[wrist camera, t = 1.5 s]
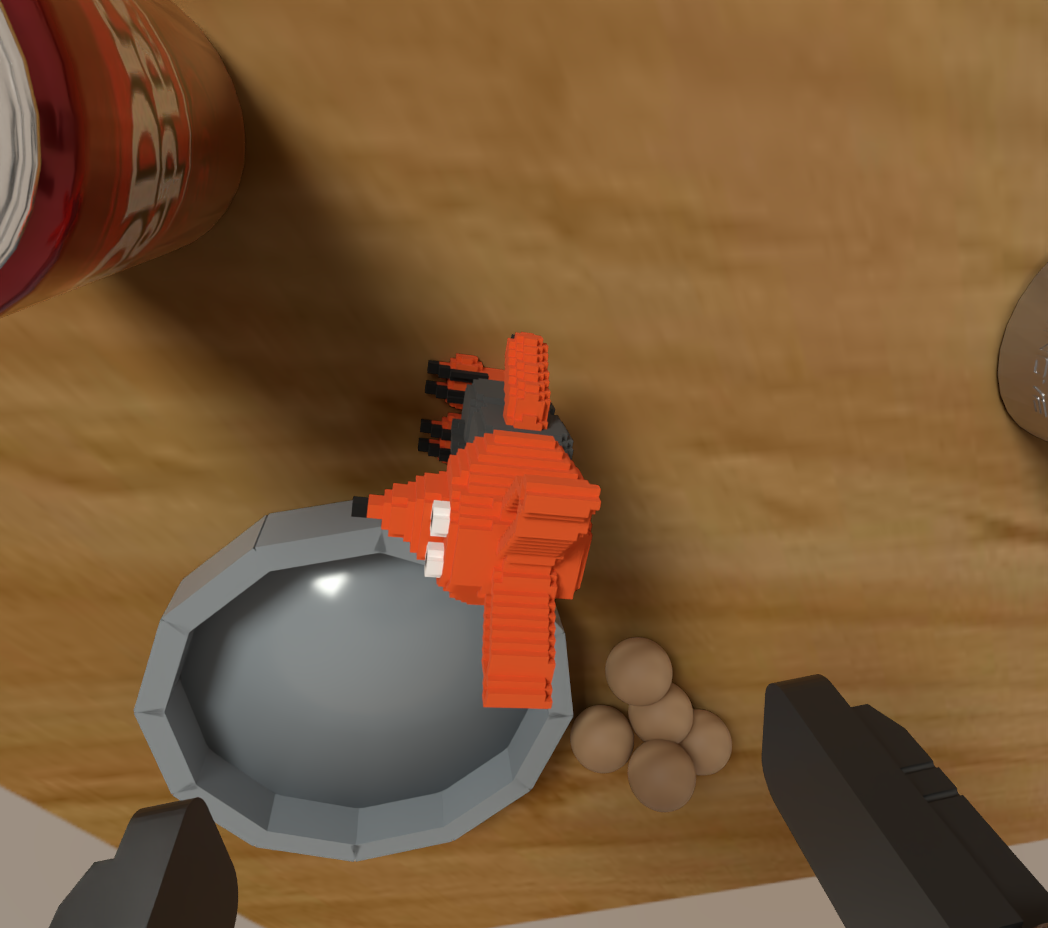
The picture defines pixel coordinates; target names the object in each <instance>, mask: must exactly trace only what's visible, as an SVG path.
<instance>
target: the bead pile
mask: <svg viewBox="0 0 1048 928" xmlns="http://www.w3.org/2000/svg"><path fill="white" fill-rule="evenodd" d="M605 673H606V679H607V682H608V685H609V687H610V689H611V690H612V692H613V693H614V694H615V695H616V696H617V697H618V698H619V699H620V700H622V701H623V702H625V703H627V704H629V720H630V723H631V725H630V723H629V721H628V719H627V718H626V717H625V716H624V715H623V714H622V713H621V712H620V711H619V710H617V709H615V708H613V707H611V706H607V705H594V706H591V707H589V708H587V709H585V710H583V711H582V712H581V713H580V714H579V715H578V716H577V718H576V719H575V721H574V723H573V725H572V728H571V734H570V742H571V747H572V750H573V753H574V755H575V757H576V758H577V760H578V761H579V762H580V763H581V764H582V765H583V766H584V767H586V768H587V769H589V770H591V771H594V772H597V773H610V772H613V771H616V770H618V769H619V768H621V767H622V766H623V765H624V764H625V763H626V762H627V761H628V759H629V758H630V756H631V754H632V751H633V747H634V734H633V730H634V731H635V733H636V734H637V735H638V737H639V738H641V739H642V740H643V741H644V743H643V744H641V745H640V746H639V747H638V748H637V749H636V750H635V751H634V753H633V754H632V756H631V758H630V761H629V765H628V779H629V784H630V787H631V789H632V791H633V793H634V795H635V796H636V797H637V799H638V800H639V801H640V802H641V803H642V804H644V805H645V806H646V807H648V808H650V809H652V810H655V811H659V812H671V811H674V810H677V809H679V808H681V807H682V806H684V805H685V804H686V803H687V802H688V801H689V799H690V798H691V796H692V794H693V792H694V789H695V785H696V775H710V774H714V773H716V772H718V771H719V770H721V769H722V768H723V767H724V766H725V765H726V763H727V762H728V760H729V758H730V755H731V751H732V740H731V736H730V732H729V730H728V728H727V726H726V725H725V723H724V722H723V721H722V720H721V719H720V718H719V717H718V716H716V715H715V714H713V713H711V712H709V711H706V710H702V709H693V708H692V704H691V702H690V700H689V698H688V696H687V695H686V693H685V692H684V691H683V690H682V689H681V688H680V687H678V686H677V685H675V684H674V683H672V665H671V661H670V659H669V657H668V655H667V653H666V652H665V651H664V649H663V648H662V647H661V646H660V645H658V644H657V643H656V642H654V641H652V640H650V639H647V638H642V637H633V638H628V639H625V640H623V641H621V642H620V643H618V644H617V645H616V646H615V647H614V648H613V649H612V651H611V652H610V654H609V656H608V658H607V661H606V667H605ZM631 726H632V727H631ZM632 728H633V730H632Z"/></svg>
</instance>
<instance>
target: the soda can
mask: <svg viewBox="0 0 1048 928" xmlns="http://www.w3.org/2000/svg"><path fill="white" fill-rule="evenodd" d="M245 142H246V138H245V130H244V122H243V114H242V109H241V106H240V103H239V100H238V97H237V93H236V90H235V87H234V84H233V81H232V79H231V78H230V76H229V74H228V72H227V70H226V68H225V66H224V64H223V62H222V60H221V58H220V56H219V54H218V53H217V51H216V50H215V49H214V47H213V46H212V44H211V43H210V42H209V40H208V39H207V37H206V36H205V35H204V33H203V32H202V31H201V29H200V28H199V27H198V26H197V25H196V24H195V23H194V22H193V21H192V20H191V19H190V18H189V17H188V16H187V15H186V14H185V13H184V12H183V11H182V10H181V9H180V8H179V7H178V6H177V5H176V4H175V3H173V2H172V1H170V0H0V318H2V317H5V316H8V315H10V314H13V313H15V312H18V311H20V310H23V309H26V308H28V307H31V306H33V305H36V304H38V303H41V302H44V301H46V300H49V299H51V298H54V297H56V296H59V295H62V294H64V293H67V292H69V291H72V290H74V289H77V288H80V287H82V286H85V285H87V284H90V283H92V282H95V281H98V280H100V279H103V278H105V277H108V276H110V275H113V274H116V273H118V272H121V271H123V270H126V269H128V268H131V267H134V266H136V265H139V264H141V263H144V262H146V261H149V260H152V259H154V258H157V257H159V256H162V255H164V254H167V253H170V252H172V251H174V250H177V249H179V248H181V247H184V246H186V245H188V244H191V243H193V242H194V241H195V240H197V239H198V238H199V237H201V236H202V235H203V234H205V233H206V232H208V231H209V230H210V229H211V228H212V227H213V226H214V225H215V224H216V223H217V221H218V220H219V219H220V218H221V217H222V216H223V214H224V213H225V212H226V211H227V209H228V207H229V205H230V203H231V201H232V199H233V197H234V195H235V193H236V191H237V190H238V186H239V182H240V179H241V175H242V171H243V167H244V158H245Z"/></svg>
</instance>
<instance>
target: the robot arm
mask: <svg viewBox="0 0 1048 928" xmlns="http://www.w3.org/2000/svg"><path fill="white" fill-rule="evenodd" d="M998 379H999V387H1000V394H1001V397H1002V399H1003V402H1004V404H1005V407H1006V409H1007V411H1008V413H1009V414H1010V415H1011V417H1012V418H1013V419H1014V420H1015V422H1016V423H1017V424H1018V425H1019V426H1020V427H1022V428H1023V429H1025V430H1026V431H1028V432H1029V433H1031V434H1032V435H1034V436H1036V437H1038V438H1041V439H1043V440H1045V441H1047V442H1048V263H1047V264H1046V265H1045V266H1044V267H1043V268H1042V269H1041V270H1040V272H1039V273H1038V274H1037V275H1036V276H1035V277H1034V279H1033V280H1032V282H1031V283H1030V285H1029V286H1028V288H1027V289H1026V291H1025V292H1024V294H1023V295H1022V297H1021V298H1020V300H1019V301H1018V303H1017V306H1016V308H1015V310H1014V312H1013V314H1012V316H1011V318H1010V320H1009V322H1008V324H1007V327H1006V331H1005V334H1004V338H1003V341H1002V345H1001V348H1000V355H999V366H998ZM762 766H763V772H764V776H765V780H766V783H767V786H768V789H769V792H770V794H771V796H772V799H773V801H774V803H775V805H776V806H777V808H778V810H779V812H780V813H781V815H782V817H783V819H784V820H785V822H786V824H787V826H788V827H789V829H790V831H791V833H792V835H793V836H794V838H795V840H796V842H797V843H798V845H799V847H800V849H801V850H802V852H803V854H804V856H805V857H806V859H807V861H808V863H809V864H810V866H811V868H812V870H813V871H814V873H815V875H816V877H817V878H818V880H819V882H820V884H821V885H822V887H823V889H824V891H825V892H826V894H827V896H828V898H829V899H830V901H831V903H832V904H833V906H834V908H835V910H836V912H837V913H838V915H839V917H840V919H841V920H842V922H843V924H844V926H845V927H846V928H1048V892H1047V891H1046V890H1045V889H1044V887H1043V886H1042V885H1041V884H1040V883H1039V882H1038V881H1037V879H1036V878H1035V877H1034V876H1033V875H1032V874H1031V873H1030V871H1029V870H1028V869H1027V868H1026V867H1025V866H1024V864H1023V863H1022V862H1021V861H1020V860H1019V859H1018V858H1017V857H1016V855H1014V853H1013V852H1012V851H1011V850H1010V848H1009V847H1008V846H1007V845H1006V844H1005V843H1004V842H1003V840H1002V839H1001V838H1000V837H999V836H998V835H997V834H996V832H995V831H994V830H993V829H992V828H991V827H990V825H989V824H988V823H987V822H986V821H985V820H984V819H983V817H982V816H981V815H980V814H979V813H978V812H977V811H976V809H975V808H974V807H973V806H972V805H971V804H970V803H969V801H968V800H967V799H966V798H965V797H964V796H963V795H961V796H960V795H959V794H958V792H957V788H956V786H955V785H954V784H953V783H952V782H951V781H950V780H949V778H948V777H947V776H946V775H945V774H944V773H943V772H942V770H941V769H940V768H939V767H938V768H936V767H935V766H934V764H933V760H932V759H931V758H930V757H929V756H928V754H927V753H926V752H925V751H924V750H923V749H922V748H921V746H920V745H919V744H918V743H917V742H916V741H915V739H914V738H913V737H912V736H911V735H910V734H909V733H908V731H907V730H906V729H905V728H903V727H902V726H900V725H899V724H897V723H896V722H894V721H893V720H891V719H890V718H888V717H887V716H885V715H884V714H882V713H881V712H879V711H877V710H876V709H874V708H873V707H871V706H870V705H868V704H865V705H860V706H855V707H850V706H849V704H848V703H847V702H846V701H845V699H844V698H843V697H842V696H841V694H840V693H839V692H838V691H837V690H836V688H835V687H834V686H833V685H832V683H831V682H830V681H829V680H828V679H827V678H826V677H824V676H822V675H820V674H816V675H811V676H806V677H801V678H796V679H791V680H786V681H781V682H776V683H771V684H769V685H768V686H767V688H766V693H765V708H764V725H763V743H762ZM237 908H238V884H237V877H236V872H235V869H234V866H233V863H232V861H231V859H230V857H229V854H228V852H227V850H226V847H225V845H224V843H223V840H222V838H221V836H220V834H219V831H218V829H217V827H216V824H215V822H214V820H213V818H212V815H211V813H210V811H209V808H208V806H207V804H206V802H205V801H204V800H203V799H202V798H200V797H196V798H191V799H186V800H181V801H176V802H171V803H166V804H161V805H156V806H152V807H147V808H142V809H140V810H138V811H137V812H136V813H135V814H134V815H133V817H132V818H131V820H130V822H129V824H128V826H127V829H126V831H125V833H124V836H123V838H122V840H121V843H120V845H119V848H118V850H117V853H116V855H115V858H114V859H109V860H104V861H99V862H94V863H93V865H92V866H91V867H90V869H89V870H88V871H87V872H86V873H85V875H84V876H83V877H82V878H81V879H80V881H79V882H78V883H77V884H76V886H75V887H74V888H73V889H72V891H71V892H70V893H69V894H68V895H67V897H66V898H65V899H64V900H63V902H62V903H61V904H60V905H59V907H58V909H57V911H56V913H55V915H54V918H53V920H52V922H51V924H50V926H49V928H234V926H235V921H236V916H237Z"/></svg>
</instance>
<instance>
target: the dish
mask: <svg viewBox="0 0 1048 928" xmlns="http://www.w3.org/2000/svg"><path fill="white" fill-rule="evenodd" d="M383 496H384V495H383ZM352 503H353V500H351V501H344V502H338V503H332V504H326V505H320V506H314V507H308V508H301V509H295V510H289V511H283V512H277V513H271V514H268V515H265V516H264V517H263V518H262V519H260V520H259V521H258V522H256V523H255V524H254V525H252V526H251V527H250V528H249V529H247V530H246V531H245V532H243V533H242V534H241V535H240V536H238V537H237V538H236V539H234V540H233V541H232V542H231V543H229V544H228V545H227V546H225V547H224V548H223V549H221V550H220V551H219V552H218V553H216V554H215V555H214V556H212V557H211V558H210V559H209V560H207V561H206V562H205V563H203V564H202V565H201V566H199V567H198V568H197V569H196V570H194V571H193V572H192V573H190V574H189V575H188V576H187V577H185V578H184V579H183V580H182V581H181V583H180V585H179V587H178V588H177V590H176V592H175V594H174V596H173V598H172V599H171V601H170V603H169V605H168V607H167V609H166V610H165V612H164V614H163V616H162V618H161V620H160V622H159V626H158V629H157V633H156V636H155V640H154V643H153V647H152V650H151V653H150V657H149V660H148V664H147V667H146V671H145V674H144V677H143V681H142V684H141V688H140V691H139V695H138V698H137V702H136V705H135V708H134V714H135V717H136V719H137V721H138V723H139V725H140V727H141V729H142V732H143V734H144V736H145V738H146V740H147V742H148V745H149V747H150V749H151V751H152V753H153V755H154V757H155V760H156V762H157V764H158V766H159V768H160V770H161V773H162V775H163V777H164V779H165V781H166V783H167V785H168V788H169V790H170V792H171V794H173V796H174V797H176V798H178V799H179V800H186V799H191V798H196V797H200V798H202V799H203V800H204V801H205V802H206V804H207V806H208V808H209V811H210V813H211V815H212V818H213V820H214V822H216V823H217V824H219V825H220V826H222V827H223V828H225V829H227V830H228V831H230V832H231V833H233V834H235V835H236V836H238V837H239V838H241V839H242V840H244V841H246V842H247V843H249V844H250V845H252V846H254V845H255V847H259V848H266V849H272V850H279V851H286V852H292V853H299V854H306V855H312V856H319V857H326V858H333V859H339V860H346V861H353V862H354V860H356V861H361V860H366V859H370V858H375V857H380V856H385V855H389V854H394V853H399V852H404V851H409V850H413V849H418V848H423V847H428V846H432V845H437V844H442V843H447V842H451V841H452V840H456V839H457V838H459V837H460V836H462V835H463V834H465V833H466V832H468V831H470V830H471V829H473V828H474V827H476V826H477V825H479V824H480V823H482V822H483V821H485V820H486V819H488V818H489V817H491V816H492V815H494V814H495V813H497V812H498V811H500V810H502V809H503V808H505V807H506V806H508V805H509V804H511V803H512V802H514V801H515V800H517V799H518V798H520V797H521V796H523V795H524V794H526V793H527V792H529V791H530V789H532V788H533V786H534V784H535V783H536V781H537V779H538V777H539V776H540V774H541V772H542V770H543V769H544V767H545V765H546V763H547V762H548V760H549V758H550V756H551V755H552V753H553V751H554V749H555V748H556V746H557V744H558V742H559V741H560V739H561V737H562V735H563V733H564V732H565V730H566V728H567V726H568V725H569V723H570V721H571V719H572V718H573V707H572V697H571V687H570V678H569V668H568V658H567V649H566V639H565V632H564V629H563V626H562V623H561V620H560V616H559V613H558V610H557V607H555V611H554V612H555V616H556V618H555V623H554V624H555V627H556V630H555V634H554V636H555V639H556V642H555V646H554V648H555V651H556V654H555V658H554V660H555V663H556V666H555V670H554V674H553V678H552V682H551V685H552V689H553V690H552V694H551V698H552V702H553V703H552V707H551V709H530V708H494V707H483V700H482V692H483V684H482V683H483V677H484V676H483V669H482V661H481V660H482V655H483V654H482V646H483V639H482V637H483V622H484V618H483V614H484V605H470V604H467V602H461V600H455V598H450V597H449V591H443V587H439V586H438V584H437V582H436V577H425V571H424V568H425V560H417V553H410V542H403V538H400V537H388V530H382V529H381V524H382V519H374V518H362V517H351V513H352Z"/></svg>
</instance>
